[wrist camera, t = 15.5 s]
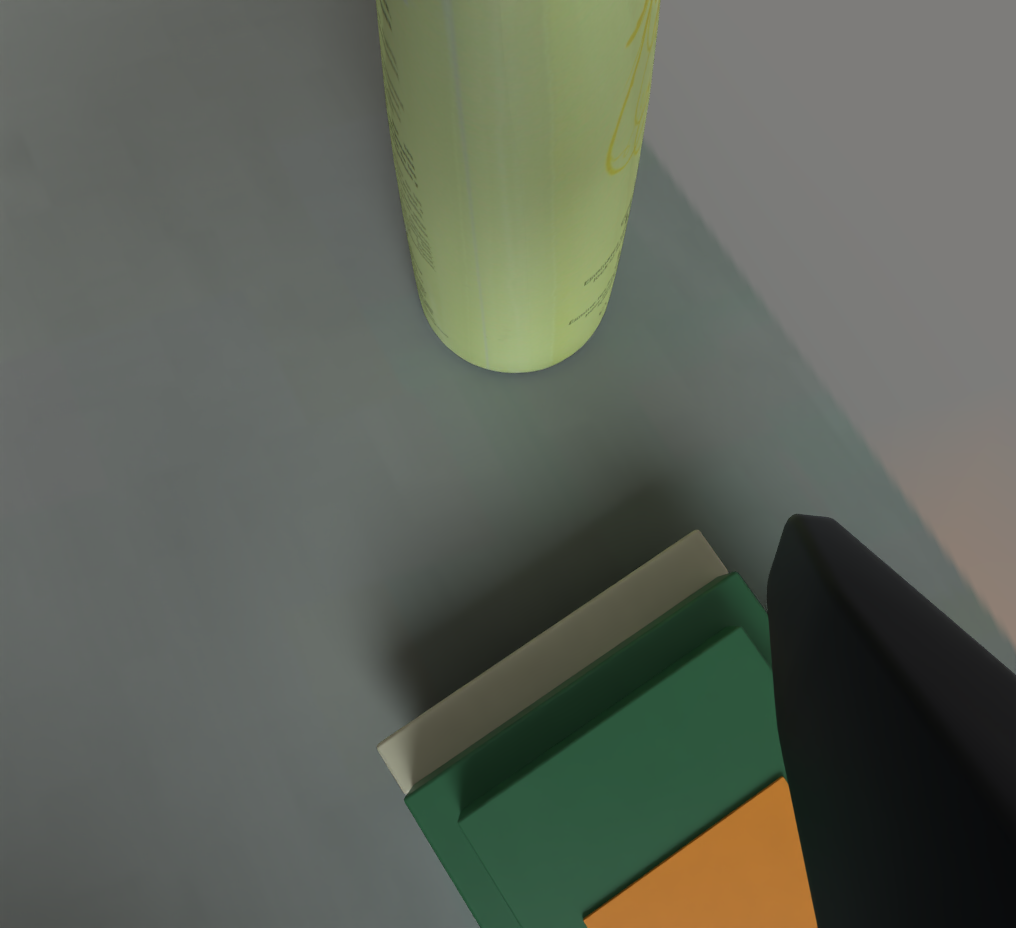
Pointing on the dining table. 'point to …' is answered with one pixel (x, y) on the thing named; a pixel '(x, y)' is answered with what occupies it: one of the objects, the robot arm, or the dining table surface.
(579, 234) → the tube
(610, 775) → the stack of green books
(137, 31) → the dining table surface
